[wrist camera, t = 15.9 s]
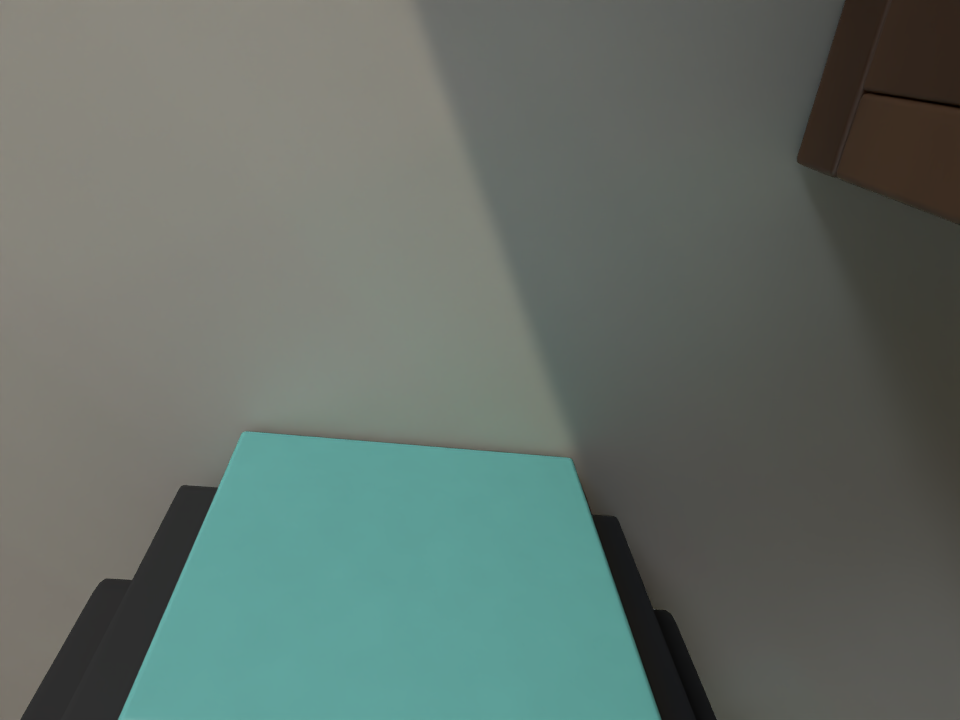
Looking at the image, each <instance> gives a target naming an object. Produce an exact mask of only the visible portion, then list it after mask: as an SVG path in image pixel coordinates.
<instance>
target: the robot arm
mask: <svg viewBox="0 0 960 720" xmlns="http://www.w3.org/2000/svg"><path fill="white" fill-rule="evenodd" d="M217 489H218V488H215V487H201V486H187V485H183V486H181V487H180V489H179V490H178V492H177V494H176V496H175V498H174V500H173V502H172V504H171V506H170V508H169V510H168V512H167V514H166V516H165V518H164V519H163V521H162V523H161V525H160V527H159V529H158V531H157V533H156V535H155V537H154V539H153V541H152V543H151V545H150V547H149V549H148V551H147V553H146V555H145V556H144V558H143V560H142V562H141V564H140V566H139V568H138V570H137V572H136V574H135V576H134V578H133V580H122V579H104V580H103V581H102V582H100V583H99V585H98V586H97V587H96V589H95V590H94V592H93V593H92V595H91V597H90V599H89V600H88V602H87V604H86V606H85V607H84V609H83V611H82V613H81V614H80V616H79V618H78V620H77V621H76V623H75V625H74V627H73V628H72V630H71V632H70V634H69V635H68V637H67V639H66V641H65V642H64V644H63V646H62V648H61V650H60V651H59V653H58V655H57V657H56V658H55V660H54V662H53V664H52V665H51V667H50V669H49V671H48V672H47V674H46V676H45V678H44V679H43V681H42V683H41V685H40V686H39V688H38V690H37V692H36V693H35V695H34V697H33V699H32V700H31V702H30V704H29V706H28V707H27V709H26V711H25V713H24V714H23V716H22V718H21V720H118V719H119V716H120V714H121V712H122V709H123V707H124V705H125V703H126V700H127V698H128V696H129V693H130V691H131V689H132V686H133V684H134V682H135V679H136V677H137V675H138V672H139V670H140V668H141V665H142V663H143V661H144V658H145V656H146V654H147V652H148V649H149V647H150V645H151V642H152V640H153V638H154V635H155V633H156V631H157V628H158V626H159V624H160V621H161V619H162V617H163V614H164V612H165V610H166V608H167V605H168V603H169V601H170V598H171V596H172V594H173V591H174V589H175V587H176V584H177V582H178V580H179V577H180V575H181V573H182V570H183V568H184V566H185V564H186V561H187V559H188V557H189V554H190V552H191V550H192V547H193V545H194V543H195V540H196V538H197V536H198V533H199V531H200V529H201V526H202V524H203V522H204V520H205V517H206V515H207V513H208V510H209V508H210V506H211V503H212V501H213V499H214V496H215V494H216V492H217ZM592 518H593V521H594V524H595V527H596V530H597V533H598V536H599V539H600V542H601V544H602V547H603V550H604V553H605V556H606V559H607V562H608V565H609V568H610V571H611V574H612V577H613V579H614V582H615V585H616V588H617V591H618V594H619V597H620V600H621V603H622V606H623V609H624V612H625V614H626V617H627V620H628V623H629V626H630V629H631V632H632V635H633V638H634V641H635V644H636V647H637V649H638V652H639V655H640V658H641V661H642V664H643V667H644V670H645V673H646V676H647V679H648V682H649V684H650V687H651V690H652V693H653V696H654V699H655V702H656V705H657V708H658V711H659V714H660V717H661V719H662V720H717V719H716V717H715V715H714V712H713V710H712V708H711V705H710V703H709V700H708V698H707V696H706V693H705V691H704V689H703V686H702V684H701V681H700V679H699V677H698V674H697V672H696V669H695V667H694V665H693V662H692V660H691V658H690V655H689V653H688V650H687V648H686V646H685V643H684V641H683V638H682V636H681V634H680V631H679V629H678V627H677V624H676V622H675V620H674V619H673V617H672V615H671V614H670V613H669V612H667V611H666V610H653V608H652V605H651V603H650V600H649V598H648V595H647V593H646V590H645V587H644V585H643V582H642V580H641V577H640V575H639V572H638V570H637V567H636V564H635V562H634V559H633V557H632V554H631V552H630V549H629V547H628V544H627V541H626V539H625V536H624V534H623V531H622V529H621V526H620V523H619V521H618V520H617V518H616V517H614V516H601V515H592Z"/></svg>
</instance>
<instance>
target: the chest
mask: <svg viewBox="0 0 960 720" xmlns="http://www.w3.org/2000/svg"><path fill="white" fill-rule="evenodd" d="M797 162H798V163H799V164H801V165H803V166H805V167H808V168H811V169H813V170H816V171H818V172H821V173H824V174H826V175H829V176H832V177H836V178H840V179H841V180H843V181H846V182H848V183H851V184H853V185H856V186H859V187H861V188H864V189H867V190H869V191H872V192H874V193H877V194H880V195H882V196H885V197H888V198H890V199H893V200H896V201H898V202H901V203H903V204H906V205H909V206H911V207H914V208H917V209H919V210H922V211H924V212H927V213H930V214H932V215H935V216H938V217H940V218H943V219H946V220H948V221H951V222H953V223H956V224H959V225H960V0H846V1H845V4H844V7H843V10H842V14H841V17H840V20H839V23H838V27H837V30H836V33H835V36H834V40H833V43H832V46H831V49H830V53H829V56H828V59H827V62H826V66H825V69H824V72H823V75H822V79H821V82H820V85H819V88H818V92H817V95H816V98H815V101H814V105H813V108H812V111H811V114H810V118H809V121H808V124H807V127H806V131H805V134H804V137H803V140H802V144H801V147H800V150H799V153H798V157H797Z"/></svg>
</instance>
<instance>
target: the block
mask: <svg viewBox="0 0 960 720" xmlns="http://www.w3.org/2000/svg"><path fill="white" fill-rule="evenodd" d="M118 720H662V719H661V717H660V714H659V711H658V708H657V705H656V702H655V699H654V696H653V693H652V690H651V687H650V684H649V682H648V679H647V676H646V673H645V670H644V667H643V664H642V661H641V658H640V655H639V652H638V649H637V647H636V644H635V641H634V638H633V635H632V632H631V629H630V626H629V623H628V620H627V617H626V614H625V612H624V609H623V606H622V603H621V600H620V597H619V594H618V591H617V588H616V585H615V582H614V579H613V577H612V574H611V571H610V568H609V565H608V562H607V559H606V556H605V553H604V550H603V547H602V544H601V542H600V539H599V536H598V533H597V530H596V527H595V524H594V521H593V518H592V515H591V512H590V509H589V506H588V504H587V501H586V498H585V495H584V492H583V489H582V486H581V483H580V480H579V477H578V474H577V471H576V469H575V466H574V463H573V460H572V459H570V458H566V457H554V456H541V455H529V454H517V453H505V452H493V451H480V450H468V449H456V448H444V447H432V446H419V445H407V444H395V443H383V442H371V441H358V440H346V439H334V438H322V437H310V436H297V435H285V434H273V433H261V432H249V431H246V432H243V433H242V434H241V436H240V438H239V441H238V443H237V445H236V448H235V450H234V452H233V455H232V457H231V459H230V462H229V464H228V466H227V469H226V471H225V473H224V476H223V478H222V480H221V482H220V485H219V487H218V489H217V492H216V494H215V496H214V499H213V501H212V503H211V506H210V508H209V510H208V513H207V515H206V517H205V520H204V522H203V524H202V526H201V529H200V531H199V533H198V536H197V538H196V540H195V543H194V545H193V547H192V550H191V552H190V554H189V557H188V559H187V561H186V564H185V566H184V568H183V570H182V573H181V575H180V577H179V580H178V582H177V584H176V587H175V589H174V591H173V594H172V596H171V598H170V601H169V603H168V605H167V608H166V610H165V612H164V614H163V617H162V619H161V621H160V624H159V626H158V628H157V631H156V633H155V635H154V638H153V640H152V642H151V645H150V647H149V649H148V652H147V654H146V656H145V658H144V661H143V663H142V665H141V668H140V670H139V672H138V675H137V677H136V679H135V682H134V684H133V686H132V689H131V691H130V693H129V696H128V698H127V700H126V703H125V705H124V707H123V709H122V712H121V714H120V716H119V719H118Z"/></svg>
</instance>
